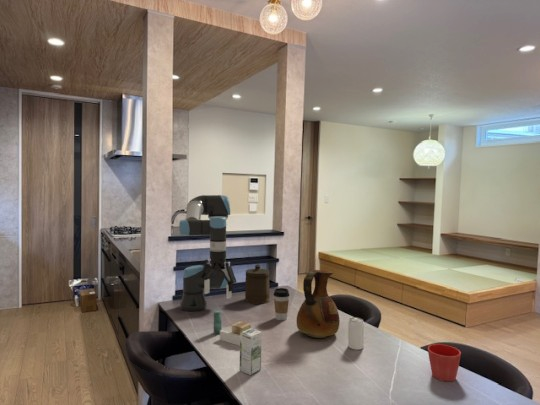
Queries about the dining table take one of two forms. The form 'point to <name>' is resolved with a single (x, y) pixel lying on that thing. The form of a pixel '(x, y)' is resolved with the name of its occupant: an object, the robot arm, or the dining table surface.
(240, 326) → the corded oak block
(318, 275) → the ceramic pitcher
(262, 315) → the dining table surface
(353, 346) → the can
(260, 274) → the wooden container
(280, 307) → the coffee cup
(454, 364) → the flower pot
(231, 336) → the rail lane
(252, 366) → the syrup box
